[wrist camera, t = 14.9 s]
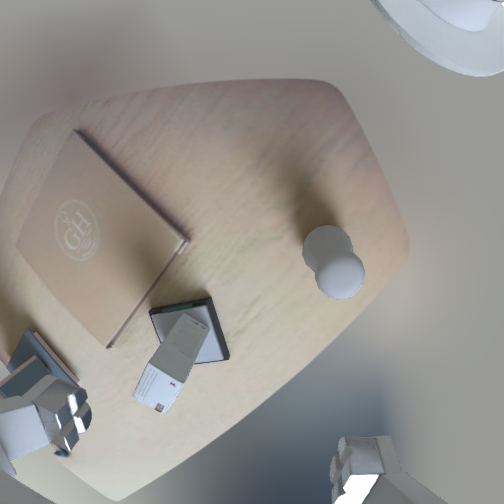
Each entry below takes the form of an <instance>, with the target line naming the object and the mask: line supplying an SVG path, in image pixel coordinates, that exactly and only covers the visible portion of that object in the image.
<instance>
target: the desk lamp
mask: <svg viewBox="0 0 504 504" xmlns="http://www.w3.org/2000/svg"><path fill="white" fill-rule="evenodd" d="M6 368H7V369H8V370H9V372H10V373H11V374H10V375H8V376H7V377H6V378H4V379H3V380H2V381H1V382H0V400H1V399H5V398H9V397H14V396H18V395H19V396H21V397H22V396H23V395H24V394H25V393H26V392H27V391H28V390H30V389H31V388H32V387H33V386H34V385H35V384H36V383H38V382H39V381H40V380H41V379H42V378H43V377H44V376H46V375H53V376H55V377H57V378H59V379H62V380H64V381H67V382H69V383H72V384H74V385H76V386H79V385H78V384H77V382H78V381H79V380H78V379H77V378H76V376H75V375H74V374H73V373H72V372H71V371H70V370H69V369H68V368H67V367H66V366H65V365H64V363H63V362H62V361H61V360H60V359H59V358H58V357H57V355H56V354H55V353H54V352H53V351H52V350H51V348H50V347H49V346H48V345H47V344H46V342H45V341H44V340H43V339H42V338H41V336H40V335H39V334H38V333H37V332H35V333H34V334H33V333H32V331H31V330H30V329H29V328H27V330H26V331H25V333H24V335H23V337H22V339H21V340H20V342H19V344H18V346H17V348H16V350H15V352H14V354H13V355H12V357H11V359H10V361H9V363H8V365H7V367H6Z"/></svg>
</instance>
